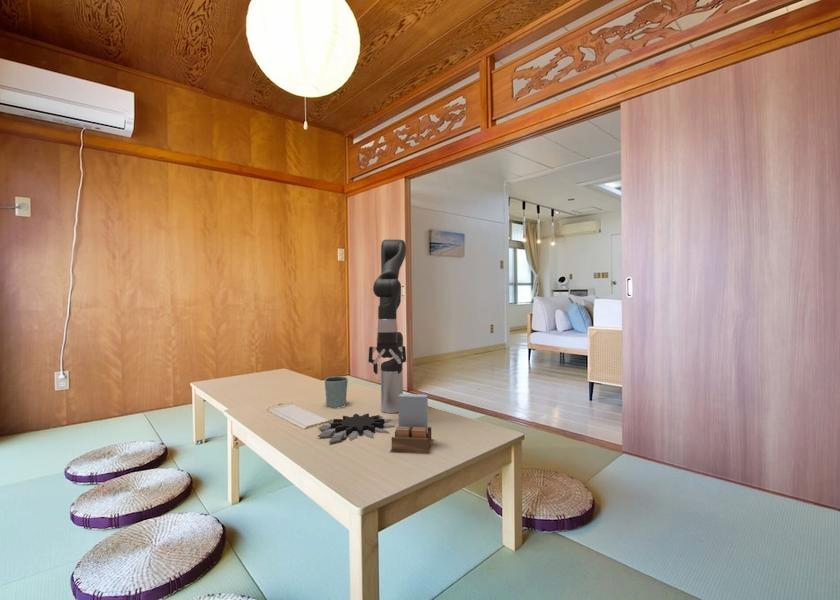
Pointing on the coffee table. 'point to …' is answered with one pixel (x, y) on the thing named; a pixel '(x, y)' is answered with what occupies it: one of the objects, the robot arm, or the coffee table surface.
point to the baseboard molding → (298, 416)
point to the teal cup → (336, 391)
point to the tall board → (413, 411)
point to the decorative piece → (354, 427)
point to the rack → (412, 444)
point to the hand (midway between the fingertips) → (387, 373)
